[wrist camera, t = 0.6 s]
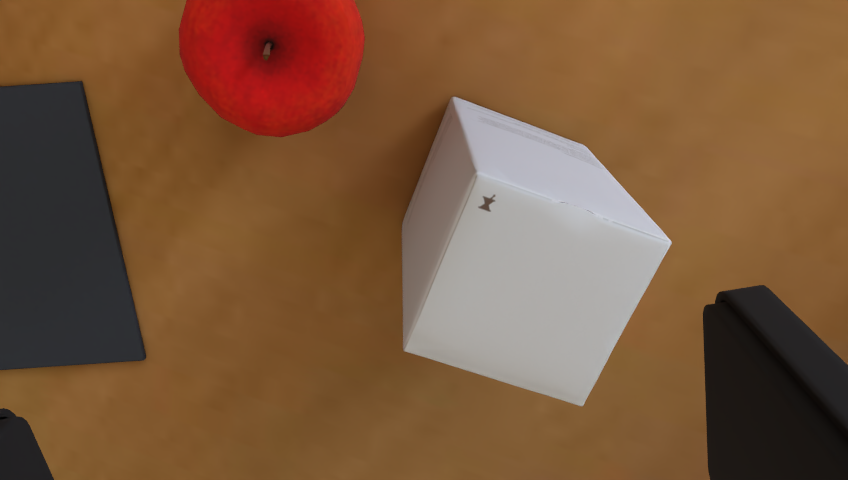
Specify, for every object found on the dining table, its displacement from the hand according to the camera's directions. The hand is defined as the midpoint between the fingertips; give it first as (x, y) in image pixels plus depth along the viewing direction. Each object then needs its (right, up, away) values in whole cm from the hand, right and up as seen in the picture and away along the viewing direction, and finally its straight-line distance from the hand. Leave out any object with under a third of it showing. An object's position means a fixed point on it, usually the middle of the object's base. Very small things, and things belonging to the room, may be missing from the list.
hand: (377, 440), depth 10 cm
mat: (-25, +3, +35) cm, 43 cm away
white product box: (+5, +6, +35) cm, 36 cm away
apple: (-7, +14, +31) cm, 35 cm away
